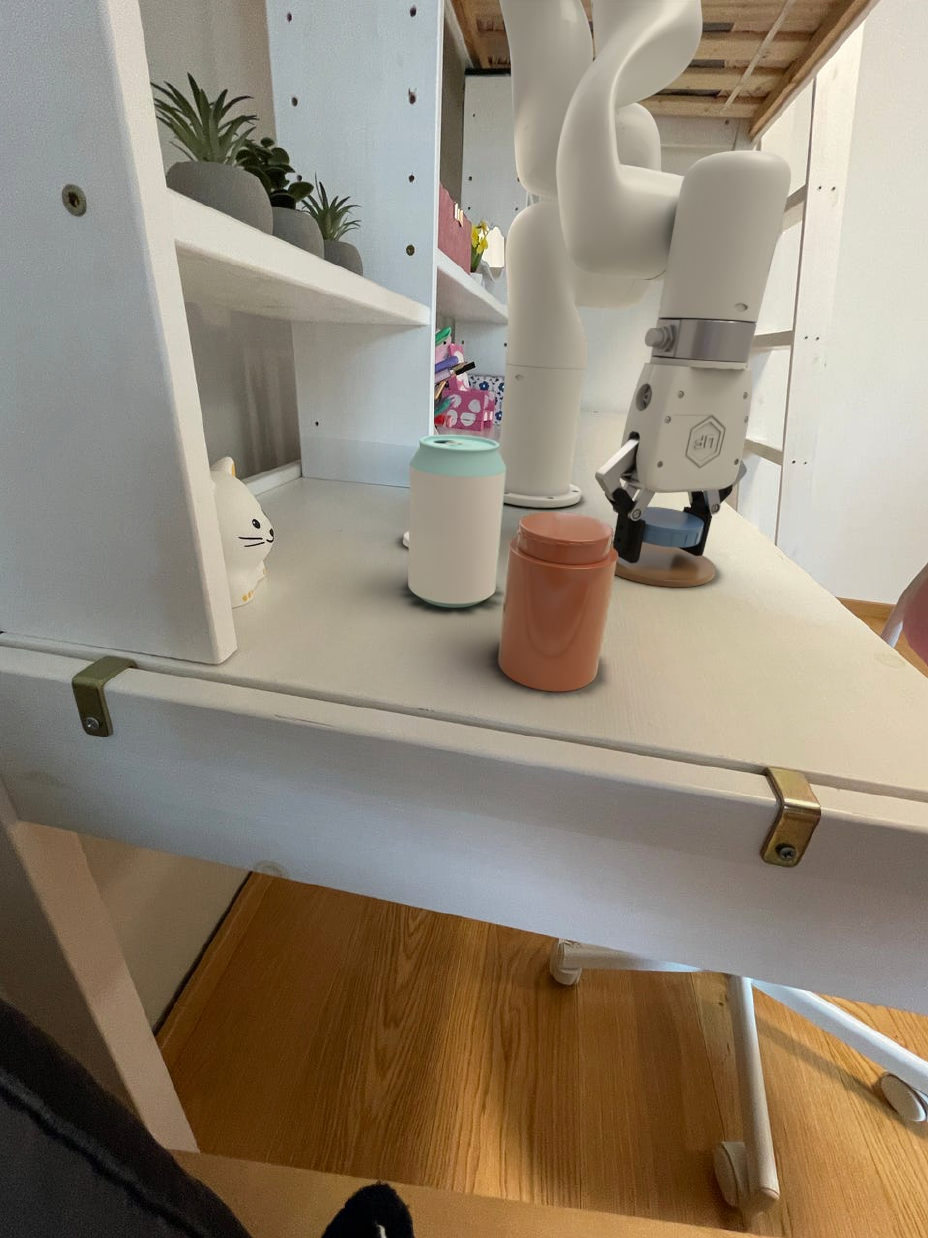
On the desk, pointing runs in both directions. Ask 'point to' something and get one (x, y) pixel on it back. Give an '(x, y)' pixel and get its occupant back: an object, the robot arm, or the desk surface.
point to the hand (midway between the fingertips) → (657, 553)
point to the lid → (671, 527)
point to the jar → (556, 600)
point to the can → (455, 519)
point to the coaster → (667, 567)
